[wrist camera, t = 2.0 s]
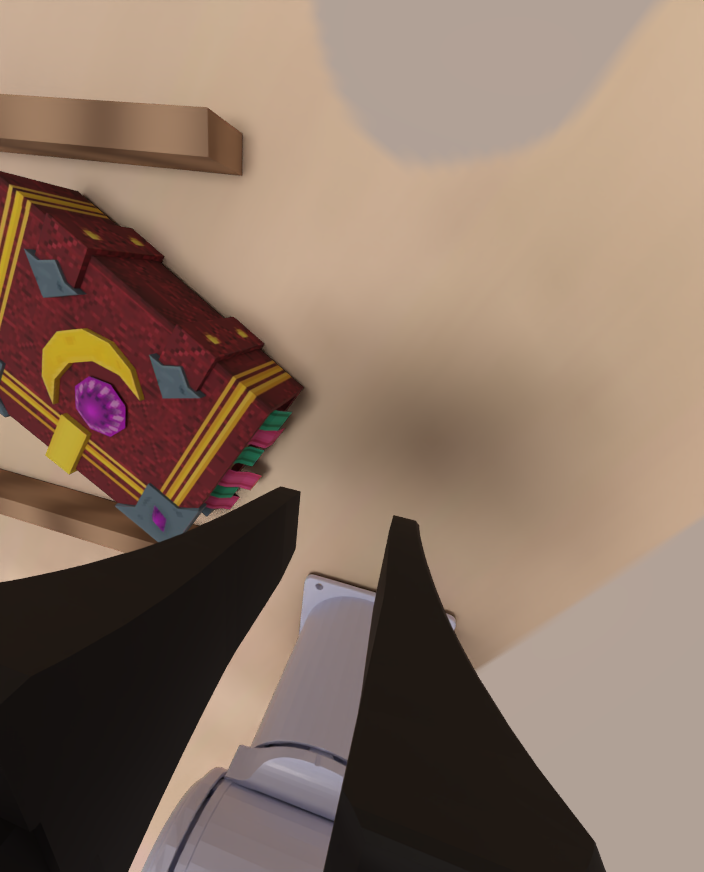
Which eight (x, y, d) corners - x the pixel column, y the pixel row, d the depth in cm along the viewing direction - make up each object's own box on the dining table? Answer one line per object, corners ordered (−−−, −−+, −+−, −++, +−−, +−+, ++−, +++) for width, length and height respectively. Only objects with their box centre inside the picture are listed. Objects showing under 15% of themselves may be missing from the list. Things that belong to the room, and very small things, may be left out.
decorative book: (86, 185, 19) (-32, 152, 14) (329, 397, 19) (292, 430, 15) (32, 357, 23) (-68, 373, 19) (229, 520, 24) (178, 572, 20)
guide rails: (242, 133, 16) (207, 107, 14) (237, 555, 25) (216, 581, 23) (-136, 104, 20) (-212, 80, 17) (-20, 478, 29) (-60, 495, 26)
